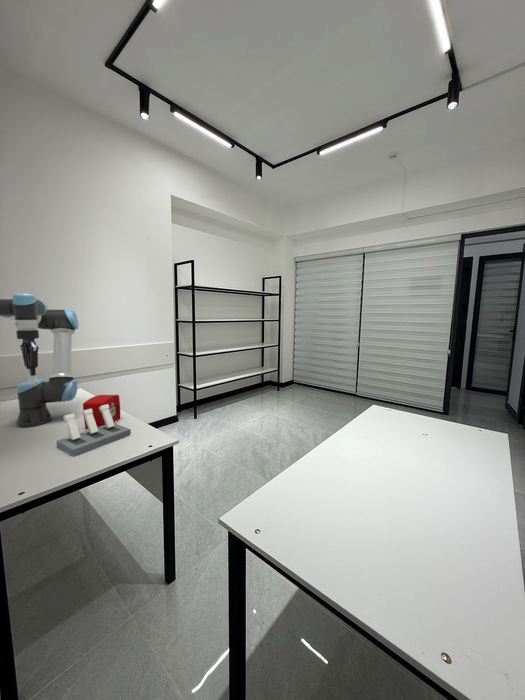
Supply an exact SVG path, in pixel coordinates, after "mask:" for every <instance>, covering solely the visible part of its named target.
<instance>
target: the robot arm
mask: <svg viewBox="0 0 525 700" xmlns="http://www.w3.org/2000/svg"><path fill="white" fill-rule="evenodd" d="M0 317H3V318H6V319H9V320H13V321H14V322H13V324H14V325H15V329H16V331H15V332H16V339H17V340H22V343H21V344H20V349H21V354H22V358H23V362H24V363H23V364H24V367H25V368H26V370H27V380H28V381H24V382H22V383H21V382H20V383H19V384H18V385H17V393H16V394H17V400H18V407H19V408H18V409H19V412H18V415H17V419H16V427H18V426H21V427H20V428H30V427H31V428H32V427H38V426H41V425H44V424H47V423H49V422H50V421H52V414H51V412H50V410H49V409H48V405H47V404H48V403H59V402H63V403H64V402H70V401H73V400H75V397H76V396H77V393H78V387H79V385H78V381H77V380H76V379H75V377H74V376H73V375H72V373H71V372H72V339H73V337H72V336H73V335H74V334H75V332H76V330H78V329H79V326H80V325H79V319H78V316H77V314H76V312H75V311H74V310H72V309H64V308H63V309H48V306H47V304H46V302H44V301H43V300H40V299H38V298H36V296H35V294H33V293H14V294H13V295H12V298H11V299H10V298H8V299H7V298H0ZM38 329H40V330H50V332H51V333H52V334H53V347H52V348H53V351H52V352H53V353H52V355H53V356H52V374H51V376H50V377H48V381H45V379H43V378H38V376H37V368H38V367H39V354H38V352H39V346H38V345H37V342H36V341H35V339H39V338H40V333H39V330H38Z"/></svg>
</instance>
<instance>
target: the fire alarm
mask: <svg viewBox="0 0 525 700" xmlns="http://www.w3.org/2000/svg"><path fill="white" fill-rule="evenodd" d="M106 404H108V405H109V411H110V414H111V416H112V419H113V422H114V423H116V422H117V421H119V420H120V419H121V401H120V395H119V394H99V395H94V396H92V397H91V398H89V399H87V400H86V401H85V402H83V403H82V407H83V408H82V411H84V410H87V409H91V408H92V411H93V413H92V414H93V417H94V420H95V422H96V425H97V427H100V426H103V425H106V424H105V421H104V418H103V415H102V412H101V411H100V409H99V407H100V406H102V405H106ZM119 418H120V419H119ZM118 419H119V420H118ZM83 420H84V426H85V427H84V428H85V430H89V429H88V426H87V423H86V420H85V417H84V416H83ZM116 420H117V421H116ZM115 421H116V422H115Z"/></svg>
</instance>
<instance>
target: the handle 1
mask: <svg viewBox="0 0 525 700" xmlns="http://www.w3.org/2000/svg"><path fill="white" fill-rule="evenodd" d="M92 413H93V411H92V408H91V409H87V410H84V411H83V410H82V411H81V415H82V416H83V418H84V417H85V420H86V423H87V426H88V429H87V430H89V432H90V434H93V433H96V432H98V428H97V425H96V422H95V420H94V417H93V414H92Z"/></svg>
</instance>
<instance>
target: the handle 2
mask: <svg viewBox="0 0 525 700" xmlns="http://www.w3.org/2000/svg"><path fill="white" fill-rule="evenodd" d="M99 409H100V411H101V412H102V415H103V418H104V421H105V424H106V426H107V429H108V428H111V427H114V426H115V425H114V423H115V422H113V419H112V416H111V414H110V411H109V405H108V404H106V405H102V406H100V407H99Z"/></svg>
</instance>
